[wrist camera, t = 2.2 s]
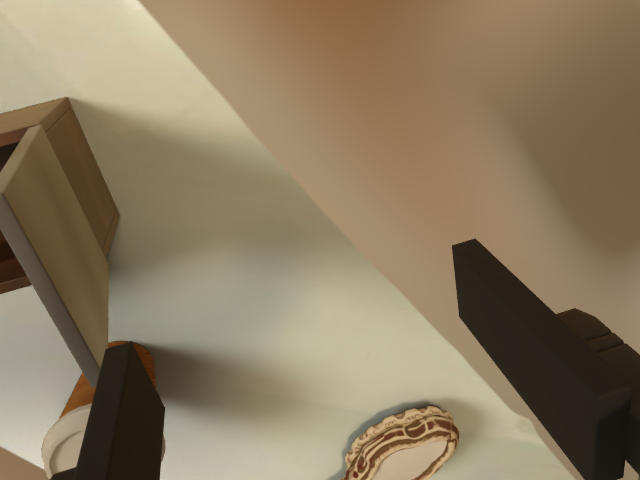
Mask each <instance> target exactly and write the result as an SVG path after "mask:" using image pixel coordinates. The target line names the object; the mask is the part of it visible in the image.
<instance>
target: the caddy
mask: <svg viewBox="0 0 640 480" xmlns="http://www.w3.org/2000/svg"><path fill="white" fill-rule="evenodd" d="M37 125H42V127H43V129H44V131H45V133H46V135H47V137H48V140H49V142H50V144H51V146H52V148H53V150H54V152H55V154H56V156H57V158H58V160H59V162H60V164H61V167H62V169H63V171H64V173H65V175H66V177H67V179H68V181H69V183H70V185H71V187H72V189H73V192H74V194H75V196H76V198H77V200H78V202H79V204H80V206H81V208H82V210H83V212H84V214H85V216H86V219H87V221H88V223H89V225H90V227H91V229H92V231H93V233H94V235H95V237H96V239H97V241H98V243H99V246H100V248H101V250H102V252H103V254H104V256H105V258H107V255H108V252H109V249H110V246H111V243H112V240H113V237H114V234H115V231H116V228H117V224H118V221H119V218H120V214H119V212H118V210H117V208H116V205H115V203H114V201H113V199H112V196H111V194H110V192H109V190H108V187H107V185H106V183H105V181H104V178H103V176H102V174H101V172H100V170H99V167H98V165H97V163H96V161H95V158H94V156H93V154H92V152H91V149H90V147H89V145H88V143H87V140H86V138H85V136H84V134H83V131H82V129H81V127H80V125H79V122H78V120H77V118H76V116H75V113H74V111H73V109H72V107H71V104H70V102H69V100H68V98H67V97H64V98H60V99H56V100H52V101H48V102H44V103H40V104H37V105H33V106H29V107H25V108H21V109H17V110H13V111H9V112H5V113H2V114H0V172H1V170H2V169H3V167H4V166H5V164H6V163H7V161H8V160H9V158H10V156H11V155H12V153H13V152H14V150H15V149H16V147H17V146H18V144H19V142H20V141H21V139H22V138H23V136H24V135H25V133H26V132H27V130H28V128H30V127H34V126H37ZM30 285H32V283H31V282H30V280H29V278H28V276H27V275H26V273H25V271H24V270H23V268H22V266H21V264H20V263H19V261H18V259H17V257H16V256H15V254H14V252H13V251H12V249H11V247H10V245H9V244H8V242H7V240H6V238H5V237H4V235H3V233H2V231H1V230H0V294H2V293H6V292H9V291H13V290H16V289H20V288H23V287H27V286H30Z"/></svg>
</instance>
